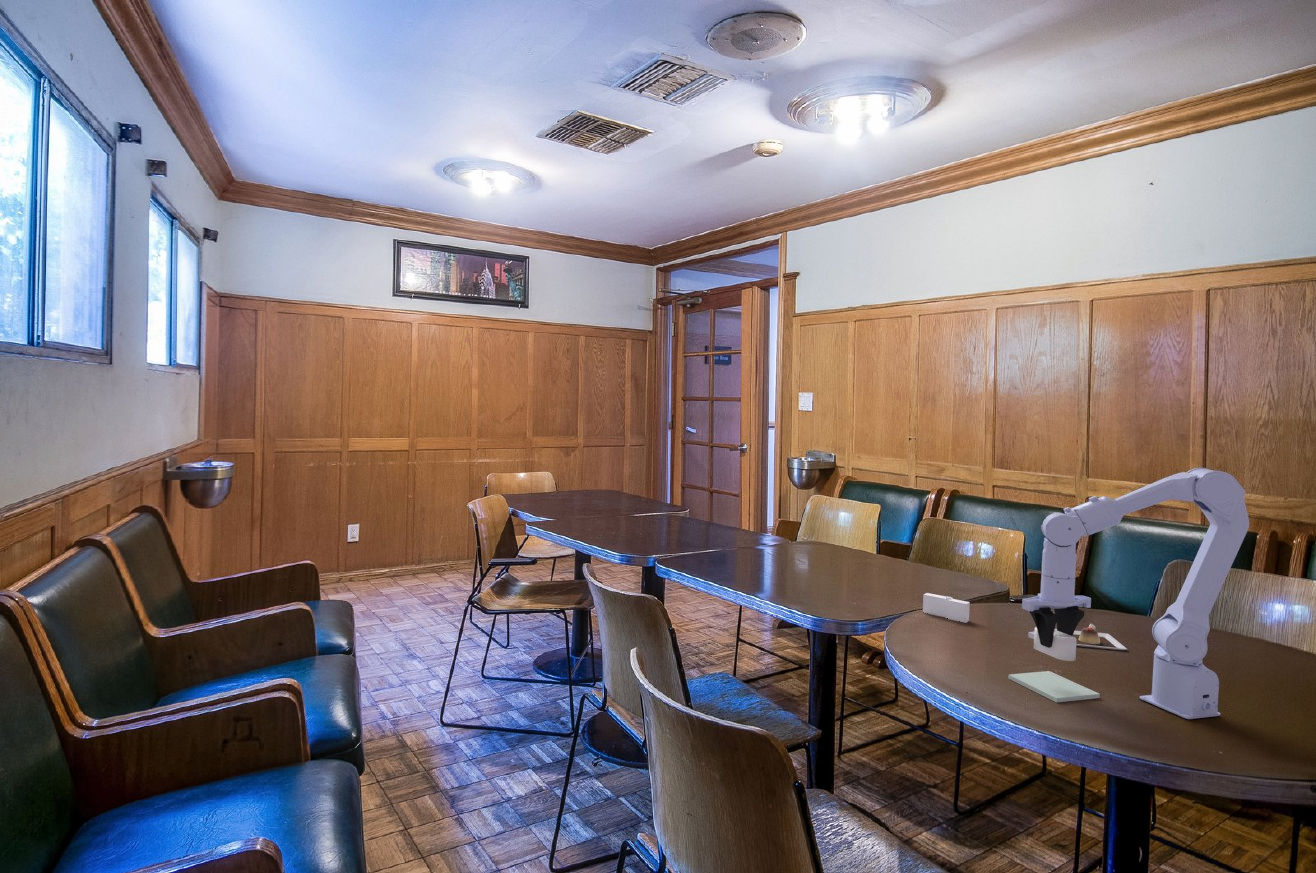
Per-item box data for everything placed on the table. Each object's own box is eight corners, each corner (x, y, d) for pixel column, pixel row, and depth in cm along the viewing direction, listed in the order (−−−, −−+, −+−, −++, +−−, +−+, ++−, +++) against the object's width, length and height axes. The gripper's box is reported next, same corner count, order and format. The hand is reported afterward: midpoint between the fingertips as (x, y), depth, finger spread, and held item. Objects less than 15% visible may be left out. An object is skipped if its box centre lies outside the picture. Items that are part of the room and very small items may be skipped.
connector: (1079, 660, 136) (1081, 639, 136) (1064, 661, 135) (1065, 640, 135) (1038, 643, 146) (1039, 623, 145) (1024, 644, 145) (1025, 624, 145)
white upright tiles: (910, 611, 193) (911, 590, 193) (949, 610, 196) (950, 589, 195) (942, 628, 179) (943, 605, 179) (983, 627, 181) (984, 604, 181)
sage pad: (1099, 697, 135) (1099, 693, 135) (1056, 702, 133) (1056, 698, 133) (1049, 674, 147) (1049, 670, 147) (1008, 678, 144) (1008, 674, 144)
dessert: (1069, 648, 166) (1070, 627, 166) (1053, 633, 178) (1054, 613, 178) (1127, 654, 163) (1128, 633, 163) (1108, 637, 175) (1109, 618, 175)
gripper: (1071, 569, 145) (1068, 636, 145) (1011, 572, 141) (1008, 640, 141) (1101, 578, 138) (1097, 647, 139) (1039, 580, 134) (1036, 652, 135)
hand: (1054, 645), depth 140 cm, fingers closed on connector, 4 cm apart
